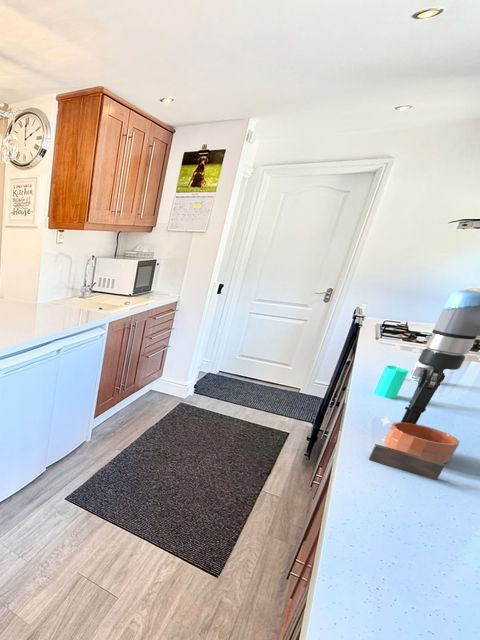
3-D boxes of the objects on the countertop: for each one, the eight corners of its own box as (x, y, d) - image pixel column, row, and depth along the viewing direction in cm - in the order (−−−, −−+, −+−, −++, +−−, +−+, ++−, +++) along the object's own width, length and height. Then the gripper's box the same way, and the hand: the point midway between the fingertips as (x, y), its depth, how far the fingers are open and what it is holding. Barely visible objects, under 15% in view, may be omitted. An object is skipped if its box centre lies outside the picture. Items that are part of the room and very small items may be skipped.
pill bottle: (428, 382, 162) (437, 362, 159) (412, 380, 164) (422, 361, 161) (420, 378, 166) (430, 359, 163) (406, 377, 168) (415, 357, 165)
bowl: (435, 449, 110) (446, 429, 108) (457, 470, 100) (469, 449, 98) (376, 436, 116) (385, 418, 113) (392, 455, 106) (402, 436, 104)
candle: (369, 390, 151) (383, 360, 146) (389, 393, 149) (403, 362, 145) (379, 396, 145) (394, 365, 141) (400, 399, 144) (415, 368, 139)
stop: (435, 477, 97) (443, 463, 95) (436, 480, 96) (444, 466, 94) (369, 456, 105) (375, 443, 103) (368, 459, 103) (375, 446, 102)
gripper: (423, 343, 111) (386, 419, 120) (424, 352, 102) (385, 433, 111) (464, 350, 106) (422, 428, 115) (469, 360, 97) (424, 444, 106)
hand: (404, 430), depth 113 cm, fingers closed
